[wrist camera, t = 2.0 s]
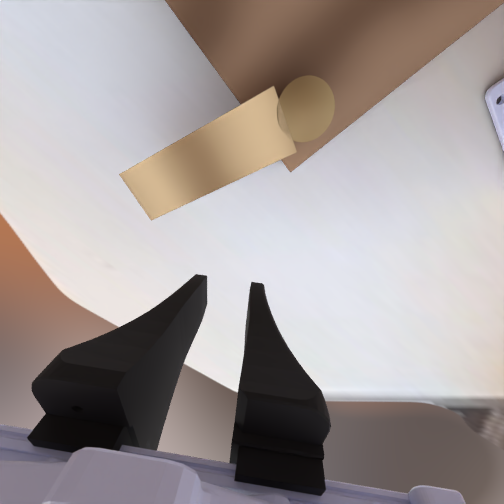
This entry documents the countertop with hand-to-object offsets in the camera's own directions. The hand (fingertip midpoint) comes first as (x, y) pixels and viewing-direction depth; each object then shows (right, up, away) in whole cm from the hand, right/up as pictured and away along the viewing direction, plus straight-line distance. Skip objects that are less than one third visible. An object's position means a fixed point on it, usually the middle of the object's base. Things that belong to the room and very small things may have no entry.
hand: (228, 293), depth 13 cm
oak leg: (0, +9, +3) cm, 10 cm away
